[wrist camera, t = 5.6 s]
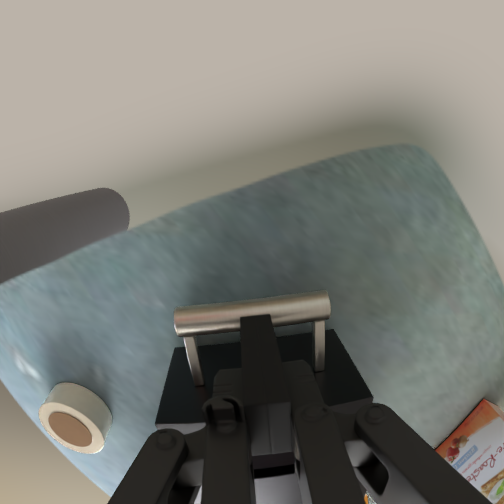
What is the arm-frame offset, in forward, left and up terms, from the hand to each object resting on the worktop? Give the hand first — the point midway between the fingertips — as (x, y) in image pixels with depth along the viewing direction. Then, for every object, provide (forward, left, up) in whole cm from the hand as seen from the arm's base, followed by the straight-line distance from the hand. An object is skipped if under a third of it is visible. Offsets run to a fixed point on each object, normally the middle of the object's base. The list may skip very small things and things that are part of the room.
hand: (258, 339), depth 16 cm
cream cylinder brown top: (-17, -11, -6) cm, 21 cm away
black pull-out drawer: (0, -7, -5) cm, 9 cm away
